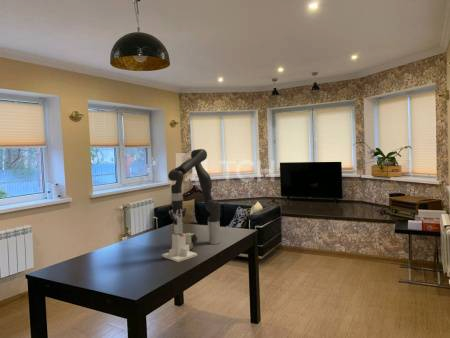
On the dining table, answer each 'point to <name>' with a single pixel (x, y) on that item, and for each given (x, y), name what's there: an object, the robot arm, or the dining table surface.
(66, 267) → the dining table surface
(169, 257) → the stand base
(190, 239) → the pneumatic valve
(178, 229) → the column
